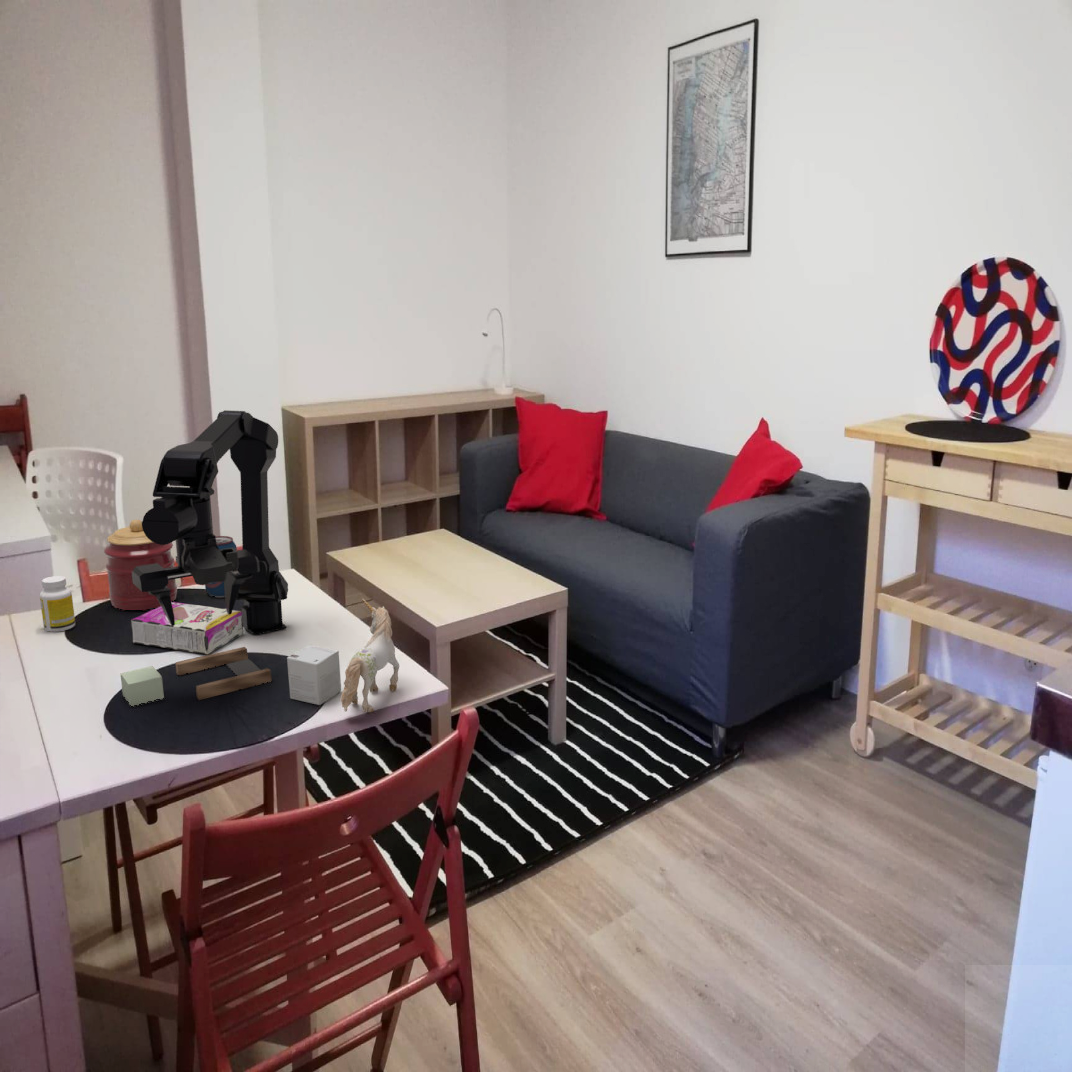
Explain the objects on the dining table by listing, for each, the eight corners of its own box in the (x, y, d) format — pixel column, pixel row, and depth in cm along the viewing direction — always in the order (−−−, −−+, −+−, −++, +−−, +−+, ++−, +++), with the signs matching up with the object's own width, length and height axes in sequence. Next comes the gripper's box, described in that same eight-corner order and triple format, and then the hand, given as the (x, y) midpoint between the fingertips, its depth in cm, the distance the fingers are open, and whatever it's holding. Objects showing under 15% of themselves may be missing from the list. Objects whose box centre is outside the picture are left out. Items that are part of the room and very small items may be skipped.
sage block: (155, 688, 147) (152, 665, 146) (164, 699, 143) (161, 676, 142) (123, 696, 144) (120, 673, 143) (131, 707, 140) (128, 684, 139)
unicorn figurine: (405, 671, 155) (404, 599, 152) (386, 724, 137) (384, 643, 133) (364, 670, 155) (361, 598, 152) (340, 723, 137) (336, 642, 133)
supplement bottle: (82, 624, 173) (76, 576, 170) (59, 634, 168) (52, 585, 165) (60, 620, 175) (54, 573, 172) (37, 630, 170) (30, 581, 167)
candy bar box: (169, 599, 173) (243, 609, 169) (171, 623, 174) (244, 634, 170) (128, 618, 163) (206, 630, 158) (131, 643, 164) (208, 656, 160)
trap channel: (245, 657, 160) (244, 646, 159) (271, 681, 150) (270, 670, 150) (176, 673, 153) (175, 662, 152) (199, 699, 143) (198, 688, 143)
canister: (95, 606, 182) (85, 523, 177) (144, 587, 194) (135, 509, 189) (145, 616, 178) (135, 531, 173) (191, 596, 189) (184, 516, 184)
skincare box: (341, 691, 147) (340, 650, 145) (319, 706, 142) (316, 664, 140) (312, 684, 150) (309, 643, 148) (288, 698, 144) (285, 656, 142)
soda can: (199, 597, 189) (194, 543, 185) (216, 586, 195) (211, 534, 192) (230, 599, 188) (225, 545, 184) (245, 589, 194) (241, 536, 191)
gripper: (146, 548, 131) (156, 647, 135) (269, 530, 142) (275, 622, 146) (126, 532, 139) (136, 625, 143) (244, 516, 150) (250, 603, 154)
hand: (201, 619), depth 146 cm, fingers open, 9 cm apart
